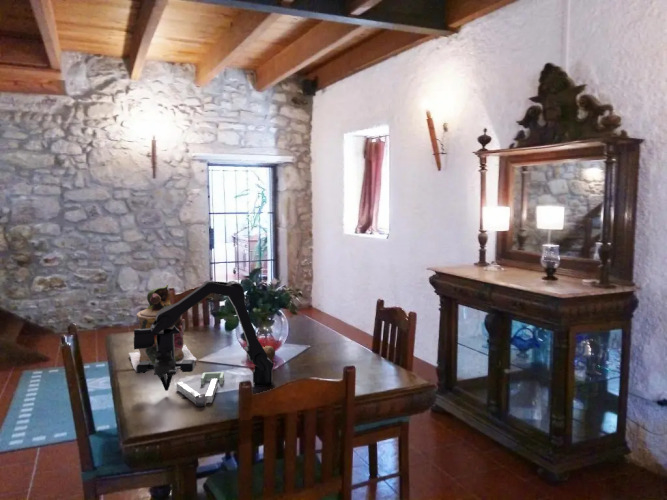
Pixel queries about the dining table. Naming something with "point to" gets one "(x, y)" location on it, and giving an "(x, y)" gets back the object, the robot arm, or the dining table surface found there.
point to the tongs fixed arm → (211, 390)
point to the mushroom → (269, 352)
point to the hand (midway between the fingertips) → (166, 390)
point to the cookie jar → (146, 317)
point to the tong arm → (191, 394)
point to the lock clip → (212, 377)
